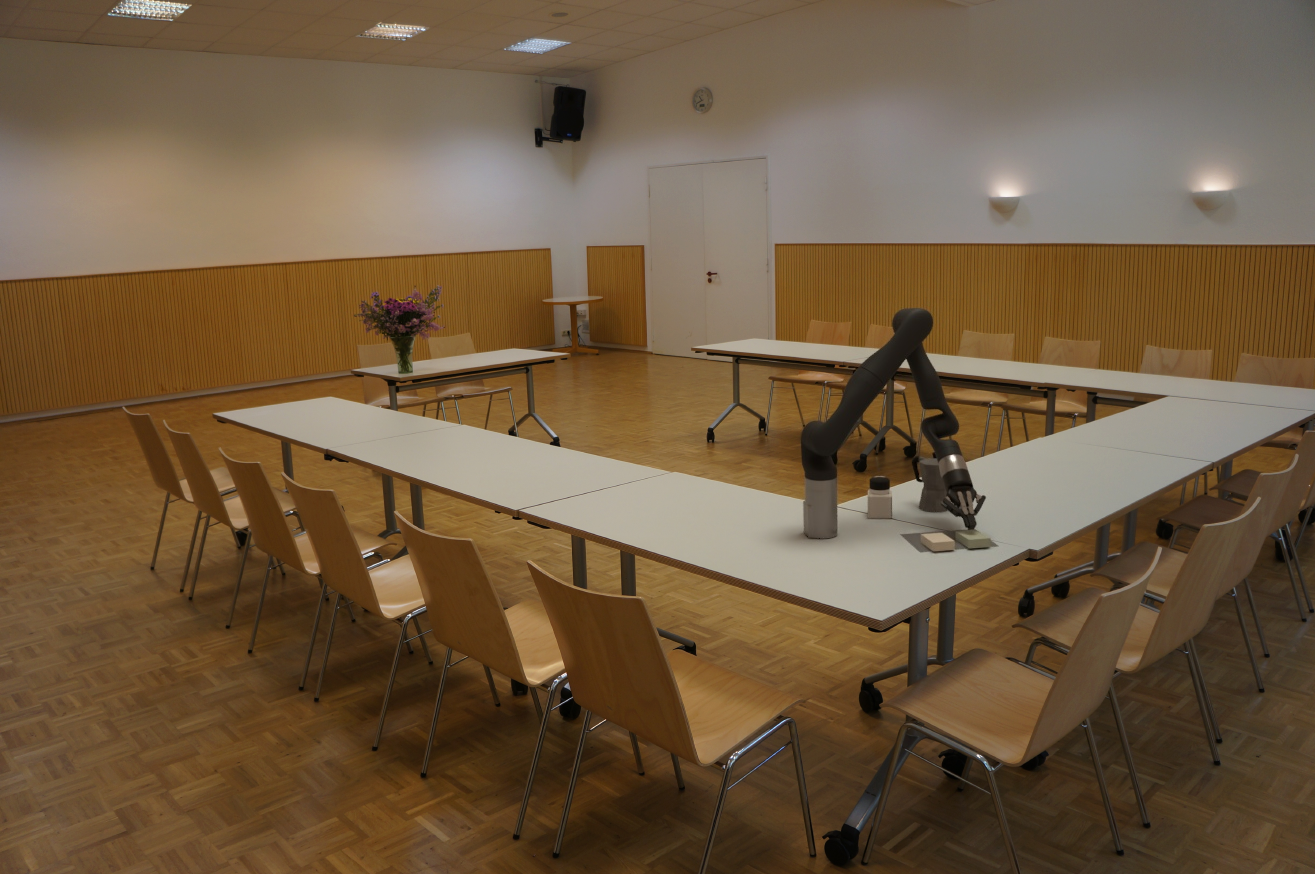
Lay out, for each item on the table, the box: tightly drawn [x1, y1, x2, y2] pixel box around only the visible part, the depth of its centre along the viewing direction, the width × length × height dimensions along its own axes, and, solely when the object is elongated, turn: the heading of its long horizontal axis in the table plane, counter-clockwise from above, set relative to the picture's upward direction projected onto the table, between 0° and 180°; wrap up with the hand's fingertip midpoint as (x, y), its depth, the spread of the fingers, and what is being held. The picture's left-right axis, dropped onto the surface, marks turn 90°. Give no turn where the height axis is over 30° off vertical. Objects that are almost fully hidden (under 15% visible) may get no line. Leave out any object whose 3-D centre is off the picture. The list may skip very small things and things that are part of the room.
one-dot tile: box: [956, 529, 992, 549], centre depth 259 cm, size 6×3×9 cm
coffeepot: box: [911, 451, 948, 513], centre depth 295 cm, size 15×9×18 cm, turn 35°
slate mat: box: [899, 528, 999, 553], centre depth 264 cm, size 22×16×1 cm
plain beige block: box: [921, 533, 956, 552], centre depth 258 cm, size 6×3×9 cm
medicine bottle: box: [867, 475, 893, 519], centre depth 290 cm, size 7×7×12 cm
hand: (972, 528), depth 259 cm, fingers closed
